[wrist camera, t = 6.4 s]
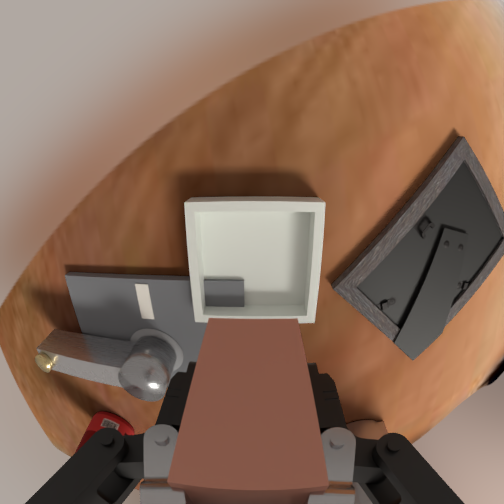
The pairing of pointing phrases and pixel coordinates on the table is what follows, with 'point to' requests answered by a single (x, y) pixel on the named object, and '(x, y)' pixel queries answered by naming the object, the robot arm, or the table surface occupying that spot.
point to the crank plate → (148, 308)
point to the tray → (257, 253)
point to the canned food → (106, 425)
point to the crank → (111, 361)
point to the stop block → (250, 418)
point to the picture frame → (429, 254)
